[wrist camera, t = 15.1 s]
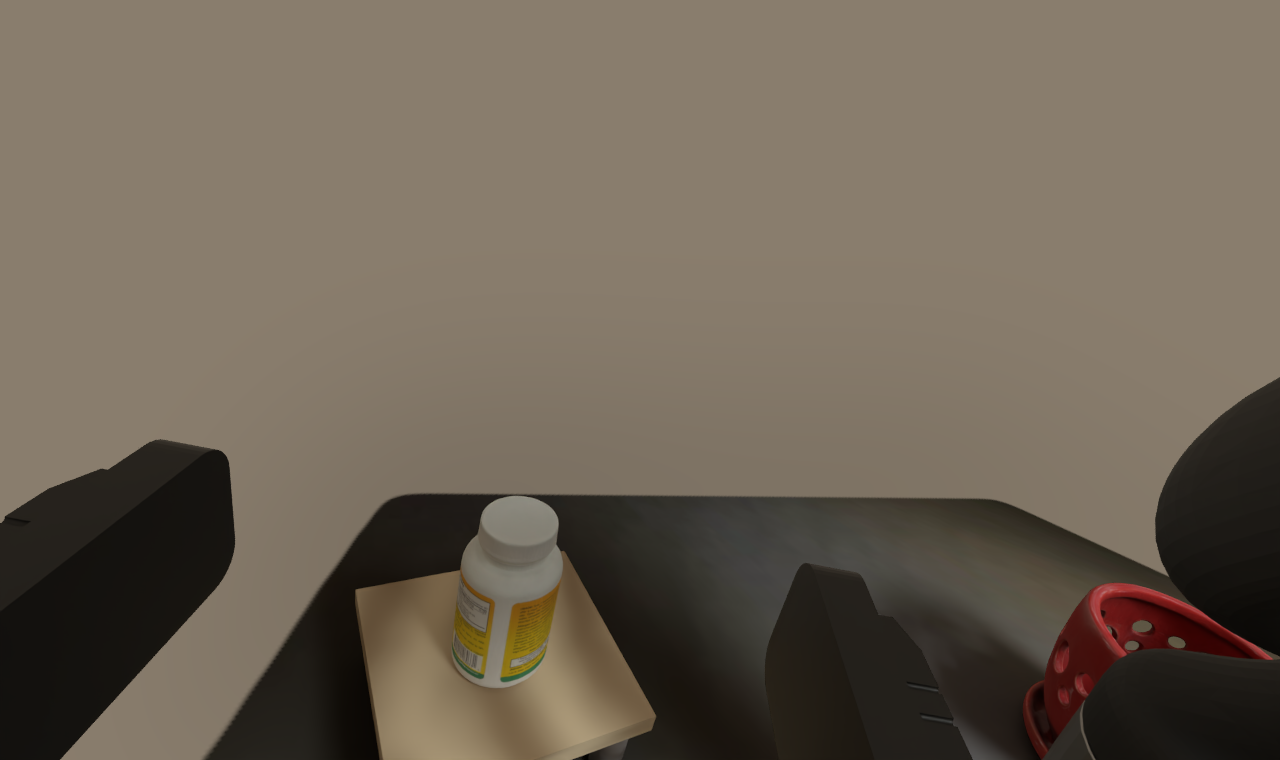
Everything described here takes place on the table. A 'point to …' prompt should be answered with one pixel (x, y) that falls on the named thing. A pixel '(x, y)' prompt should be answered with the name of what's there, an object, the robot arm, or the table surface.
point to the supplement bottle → (507, 593)
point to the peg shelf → (494, 717)
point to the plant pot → (1115, 650)
